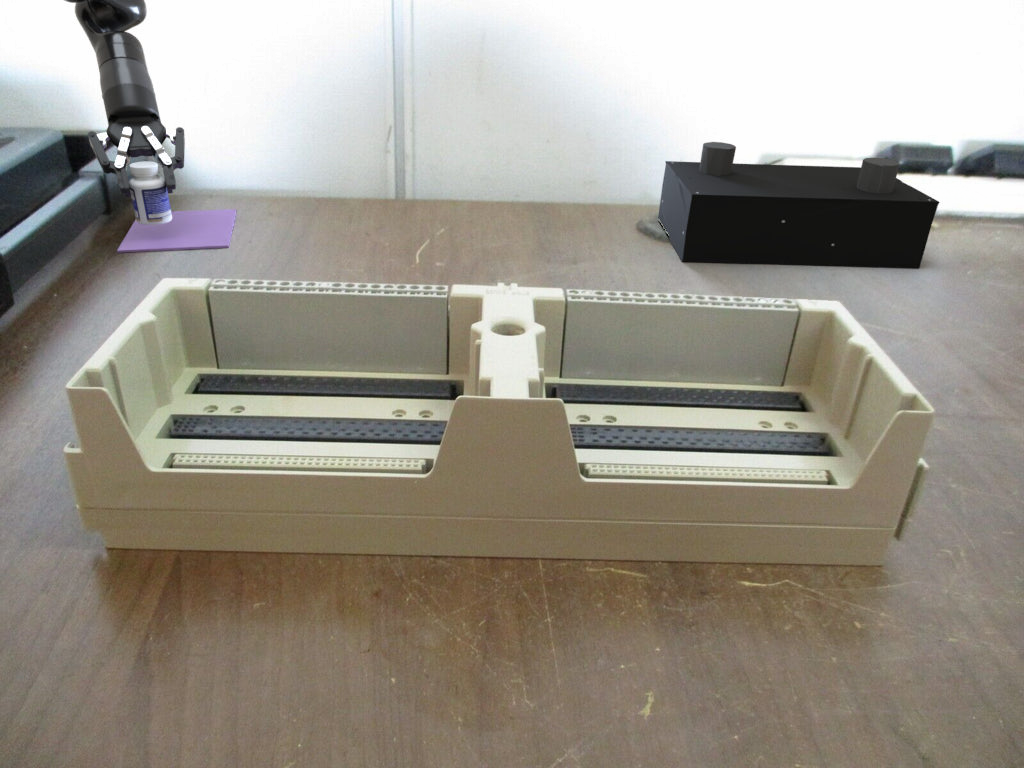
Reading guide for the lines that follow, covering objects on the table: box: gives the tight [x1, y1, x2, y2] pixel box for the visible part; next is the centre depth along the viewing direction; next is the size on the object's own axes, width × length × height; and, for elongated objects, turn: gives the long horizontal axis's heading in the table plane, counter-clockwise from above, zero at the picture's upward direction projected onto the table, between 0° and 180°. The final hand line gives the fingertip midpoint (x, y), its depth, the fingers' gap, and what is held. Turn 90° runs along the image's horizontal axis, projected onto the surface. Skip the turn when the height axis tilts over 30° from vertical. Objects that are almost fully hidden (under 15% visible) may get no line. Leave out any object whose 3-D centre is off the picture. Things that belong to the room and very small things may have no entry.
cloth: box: [116, 208, 238, 254], centre depth 126 cm, size 16×20×1 cm
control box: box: [657, 141, 940, 269], centre depth 128 cm, size 38×24×15 cm, turn 90°
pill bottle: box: [128, 160, 172, 225], centre depth 119 cm, size 5×5×9 cm
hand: (149, 191), depth 117 cm, fingers closed on pill bottle, 5 cm apart
